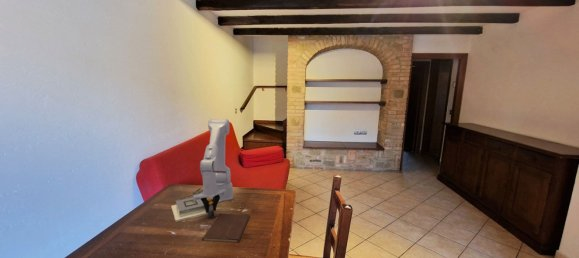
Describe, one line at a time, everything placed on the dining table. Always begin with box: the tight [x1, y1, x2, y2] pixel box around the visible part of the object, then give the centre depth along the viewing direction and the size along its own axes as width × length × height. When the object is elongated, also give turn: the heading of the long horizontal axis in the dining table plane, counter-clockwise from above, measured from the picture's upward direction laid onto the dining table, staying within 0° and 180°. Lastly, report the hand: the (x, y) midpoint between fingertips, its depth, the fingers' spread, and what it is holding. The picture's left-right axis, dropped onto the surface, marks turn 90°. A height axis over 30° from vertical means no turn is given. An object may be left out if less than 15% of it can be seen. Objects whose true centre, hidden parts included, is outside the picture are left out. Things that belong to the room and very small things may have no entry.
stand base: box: [171, 204, 208, 223], centre depth 126 cm, size 16×16×1 cm
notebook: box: [201, 213, 251, 243], centre depth 111 cm, size 15×20×2 cm
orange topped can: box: [207, 198, 215, 218], centre depth 120 cm, size 3×3×8 cm
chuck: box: [175, 197, 205, 217], centre depth 125 cm, size 12×12×3 cm
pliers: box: [176, 187, 203, 201], centre depth 143 cm, size 10×1×20 cm
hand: (210, 211), depth 120 cm, fingers closed on orange topped can, 3 cm apart
